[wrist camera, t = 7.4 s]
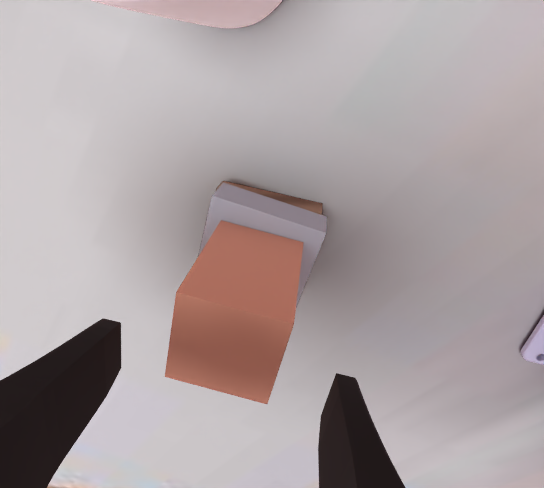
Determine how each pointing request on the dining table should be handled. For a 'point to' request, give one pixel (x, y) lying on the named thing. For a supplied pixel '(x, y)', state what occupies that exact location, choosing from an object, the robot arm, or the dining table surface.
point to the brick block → (236, 312)
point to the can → (203, 10)
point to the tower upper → (268, 222)
